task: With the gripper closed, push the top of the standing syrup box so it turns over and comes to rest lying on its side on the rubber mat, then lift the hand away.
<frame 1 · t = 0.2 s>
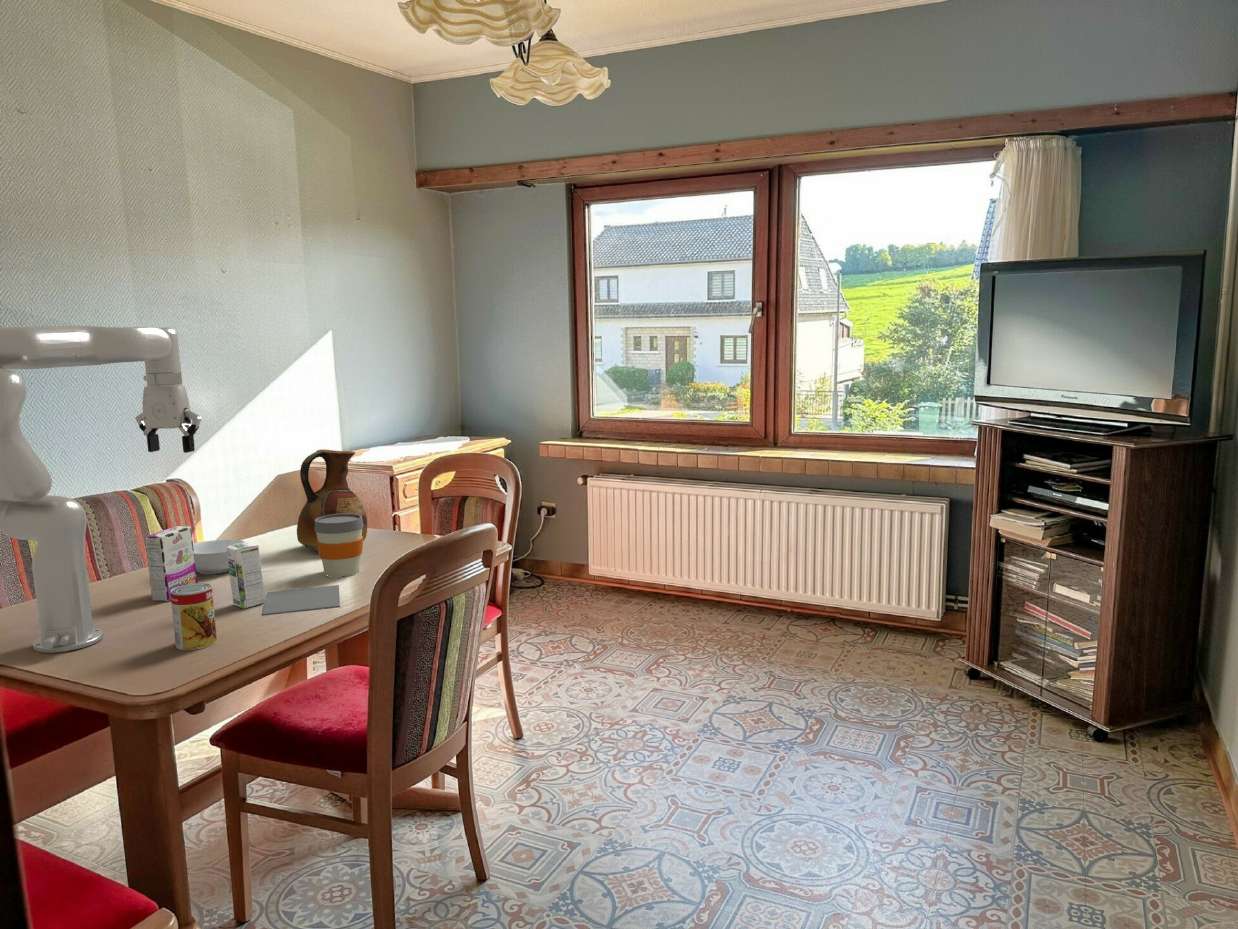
hand: (171, 451, 212), 36 cm above the table, tool pointing down, fingers open, 9 cm apart
mat: (302, 599, 214), on the table
reusable coffee cup: (342, 573, 238), on the table
candy bar box: (175, 595, 220), on the table
cereal bowl: (215, 571, 242), on the table
ceramic pitcher: (333, 548, 265), on the table
canned food: (196, 644, 186), on the table
syrup box: (249, 604, 212), on the table, touching mat
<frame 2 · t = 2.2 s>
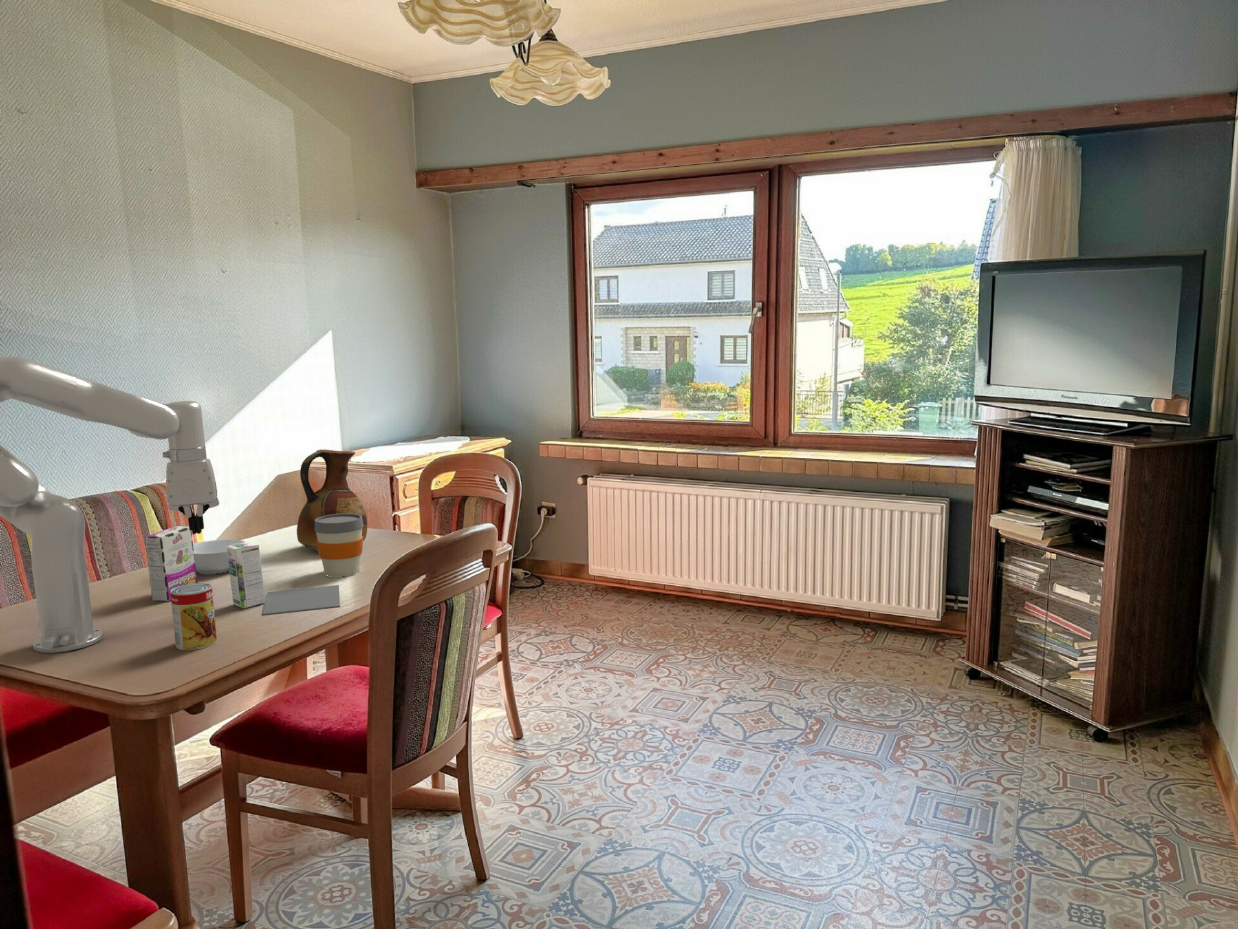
hand: (197, 532, 206), 18 cm above the table, tool pointing down, fingers closed
nothing on the table moved.
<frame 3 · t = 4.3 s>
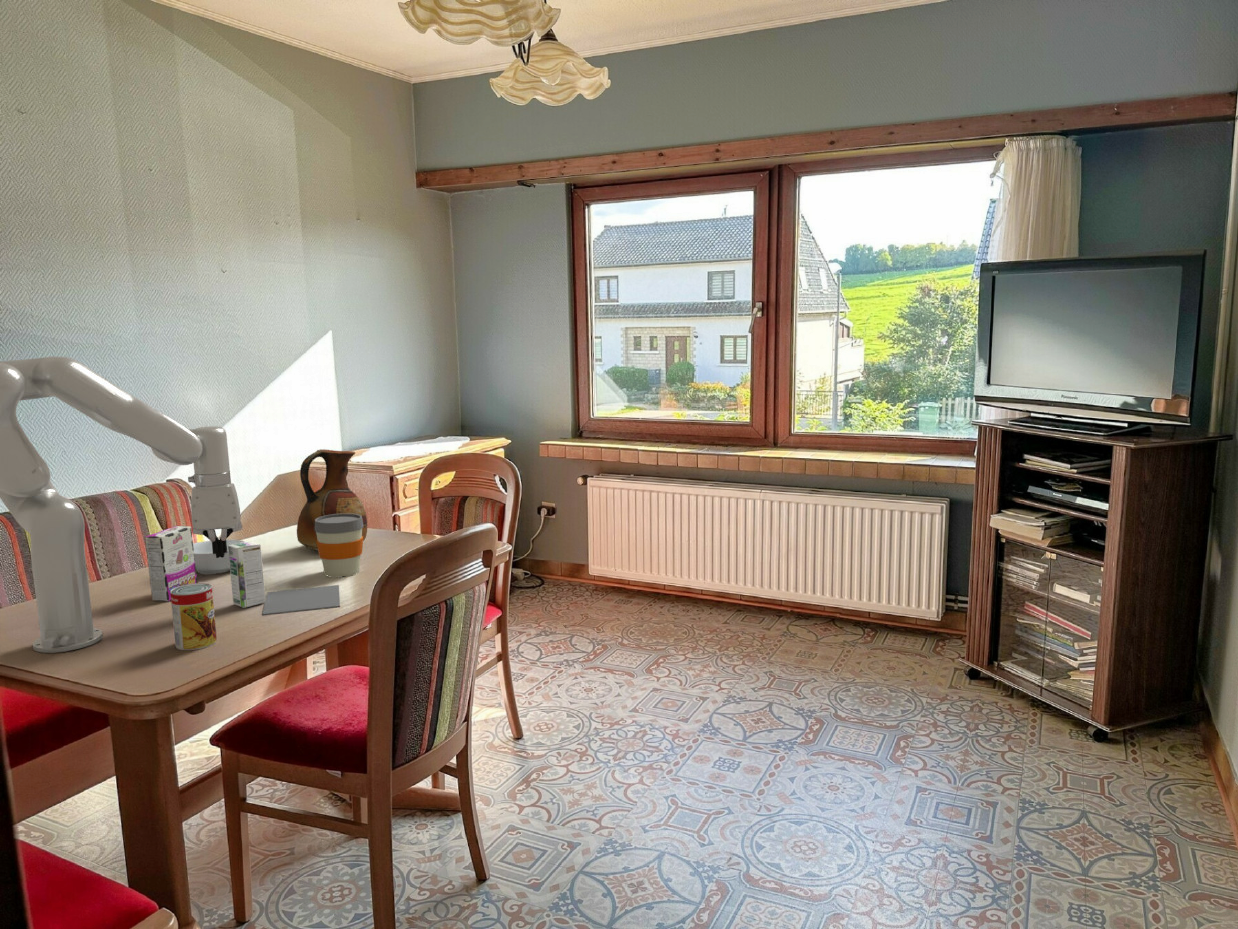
hand: (220, 556, 208), 12 cm above the table, tool pointing down, fingers closed
syrup box: (249, 604, 212), on the table, touching gripper, mat
everything else where it was.
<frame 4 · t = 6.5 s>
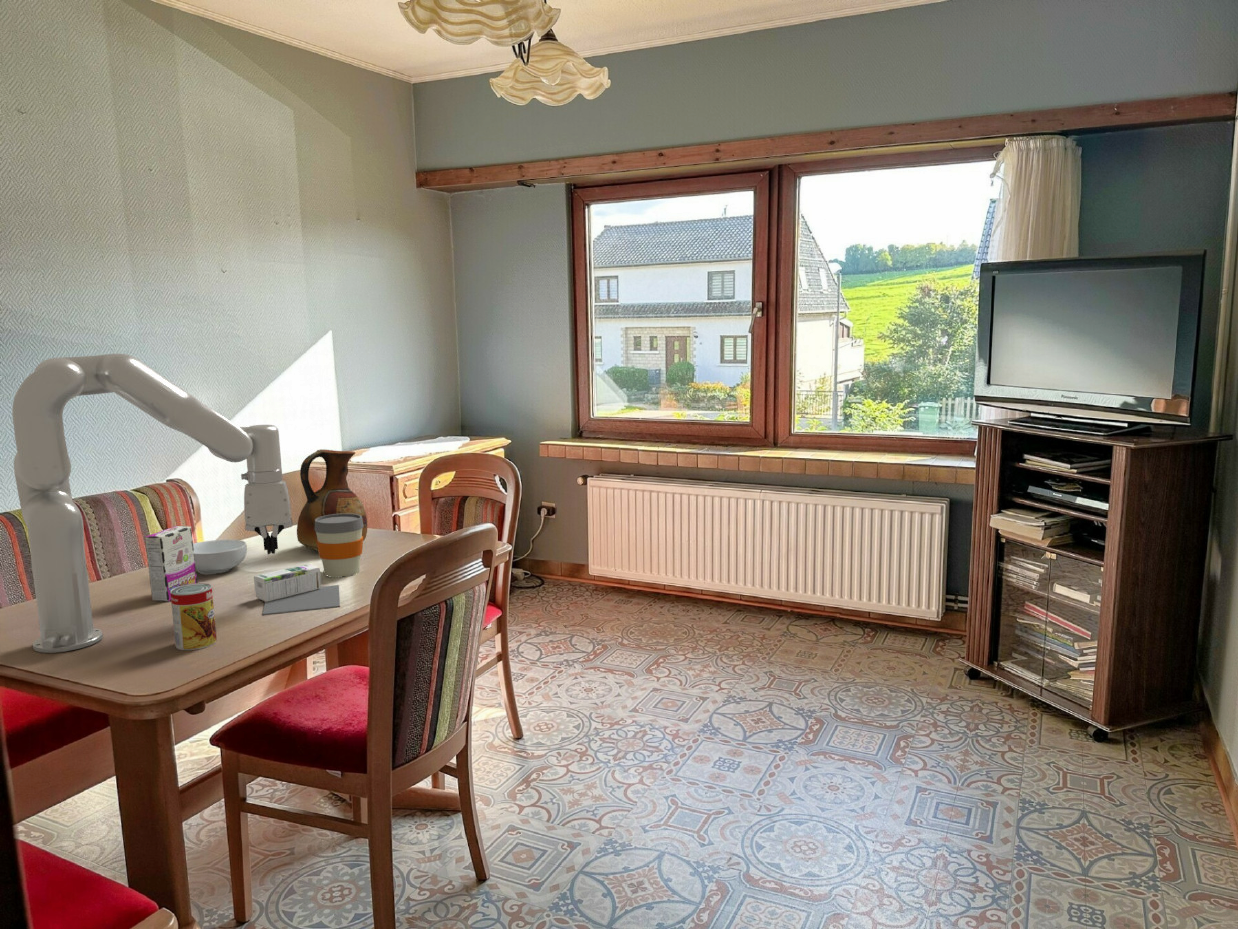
hand: (271, 552, 212), 12 cm above the table, tool pointing down, fingers closed
syrup box: (258, 589, 213), point 3 cm above the table, touching mat
everything else where it was.
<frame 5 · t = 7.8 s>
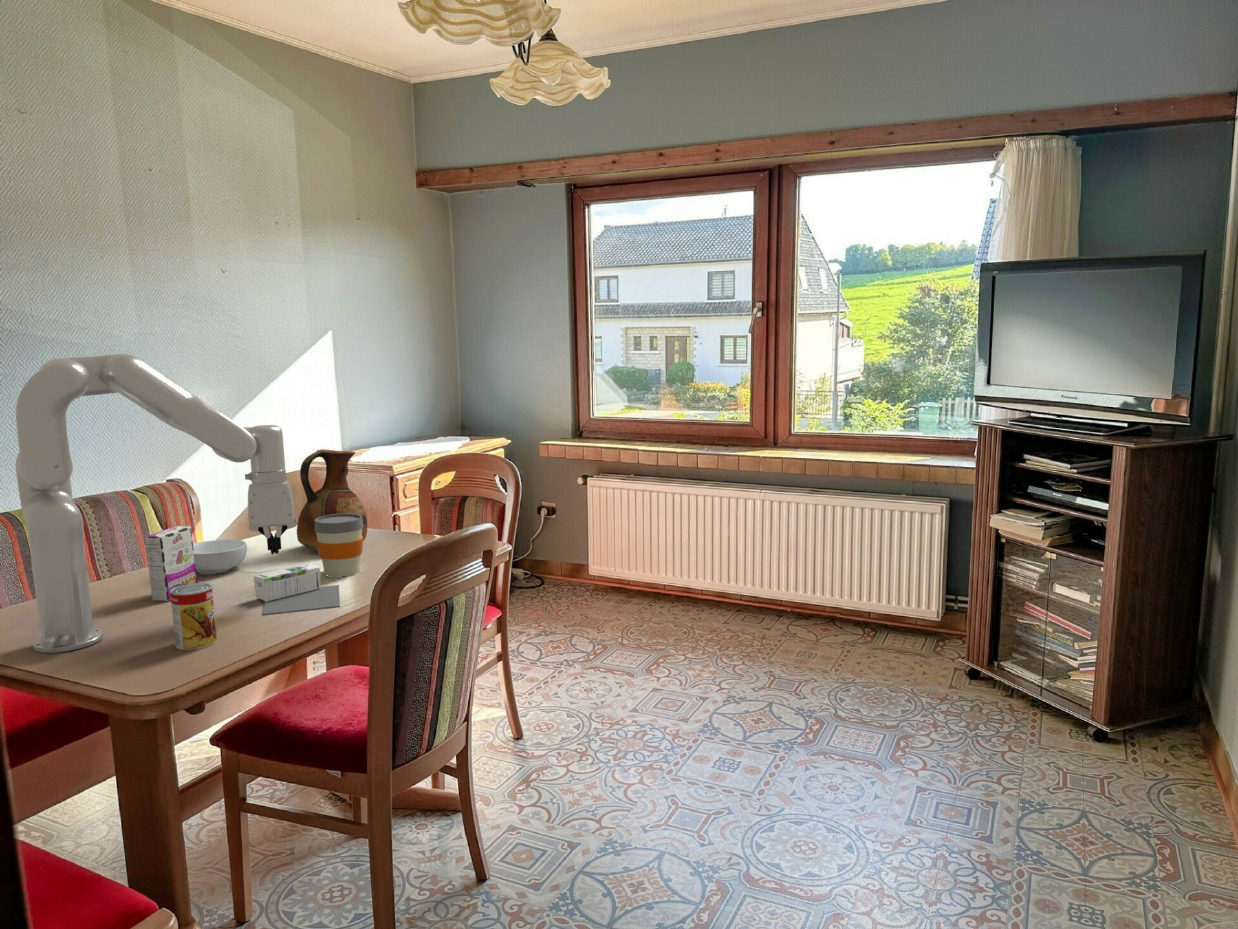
hand: (274, 552, 212), 12 cm above the table, tool pointing down, fingers closed
nothing on the table moved.
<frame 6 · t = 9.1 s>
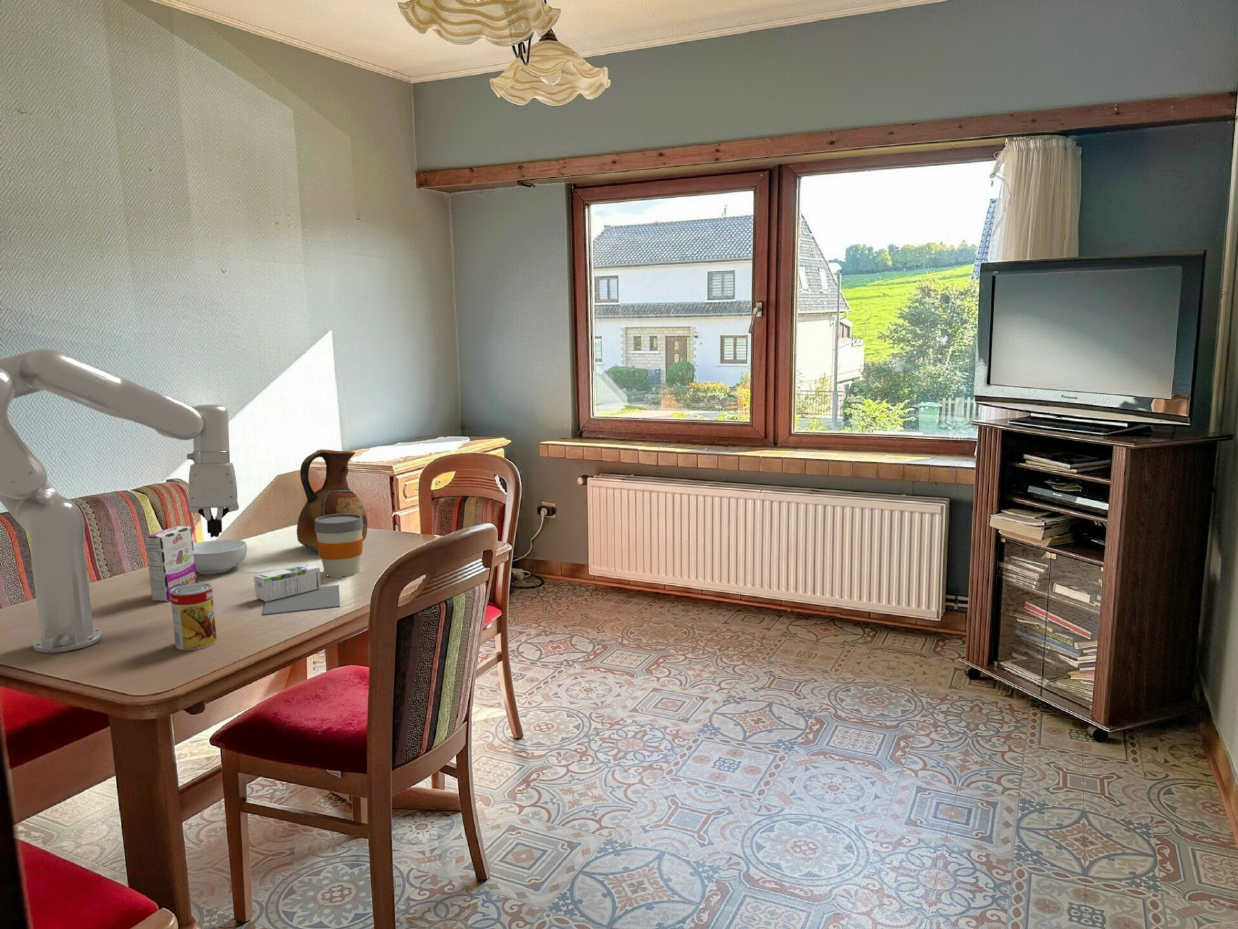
hand: (215, 535, 207), 17 cm above the table, tool pointing down, fingers closed
nothing on the table moved.
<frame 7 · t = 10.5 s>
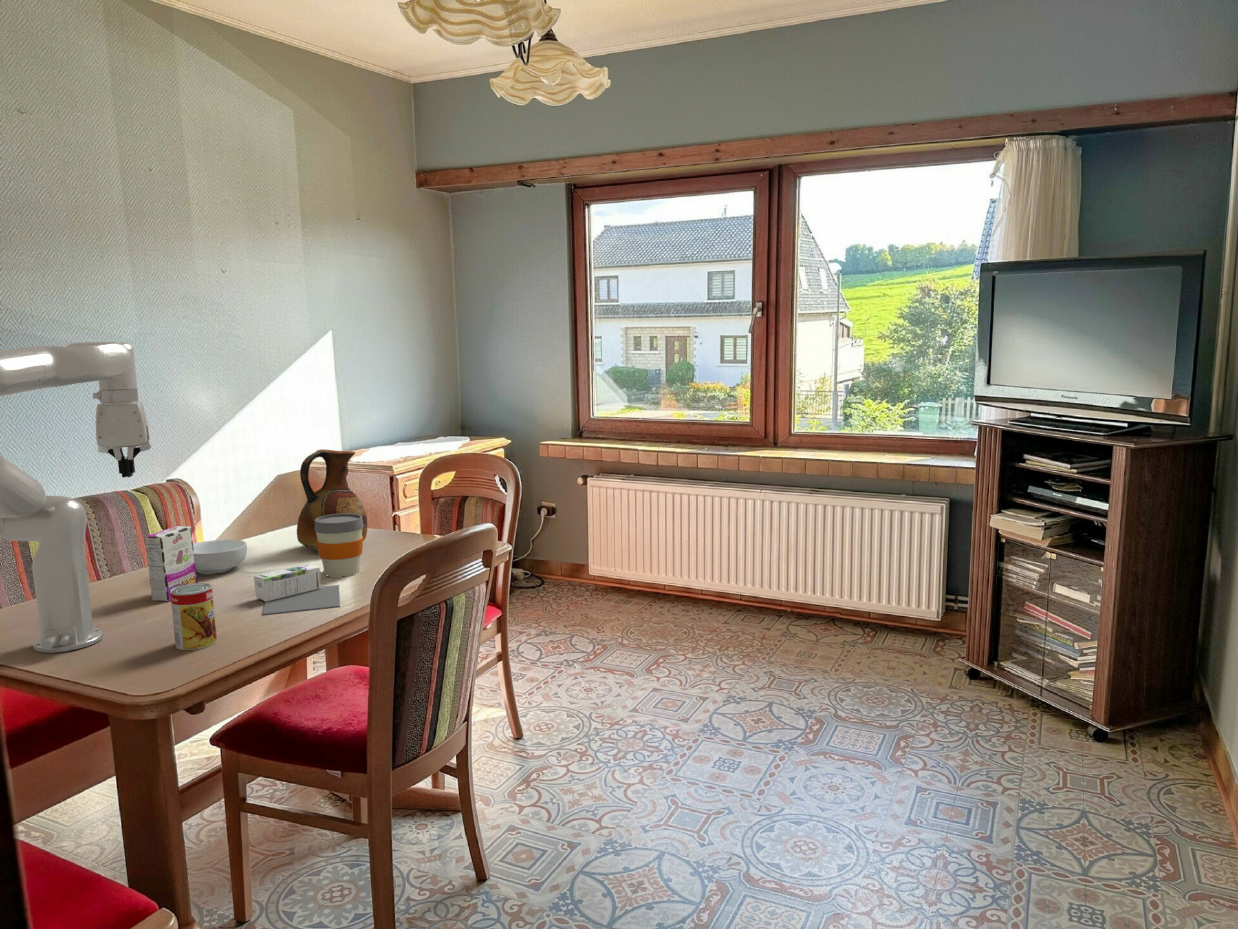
hand: (127, 476, 204), 32 cm above the table, tool pointing down, fingers closed
nothing on the table moved.
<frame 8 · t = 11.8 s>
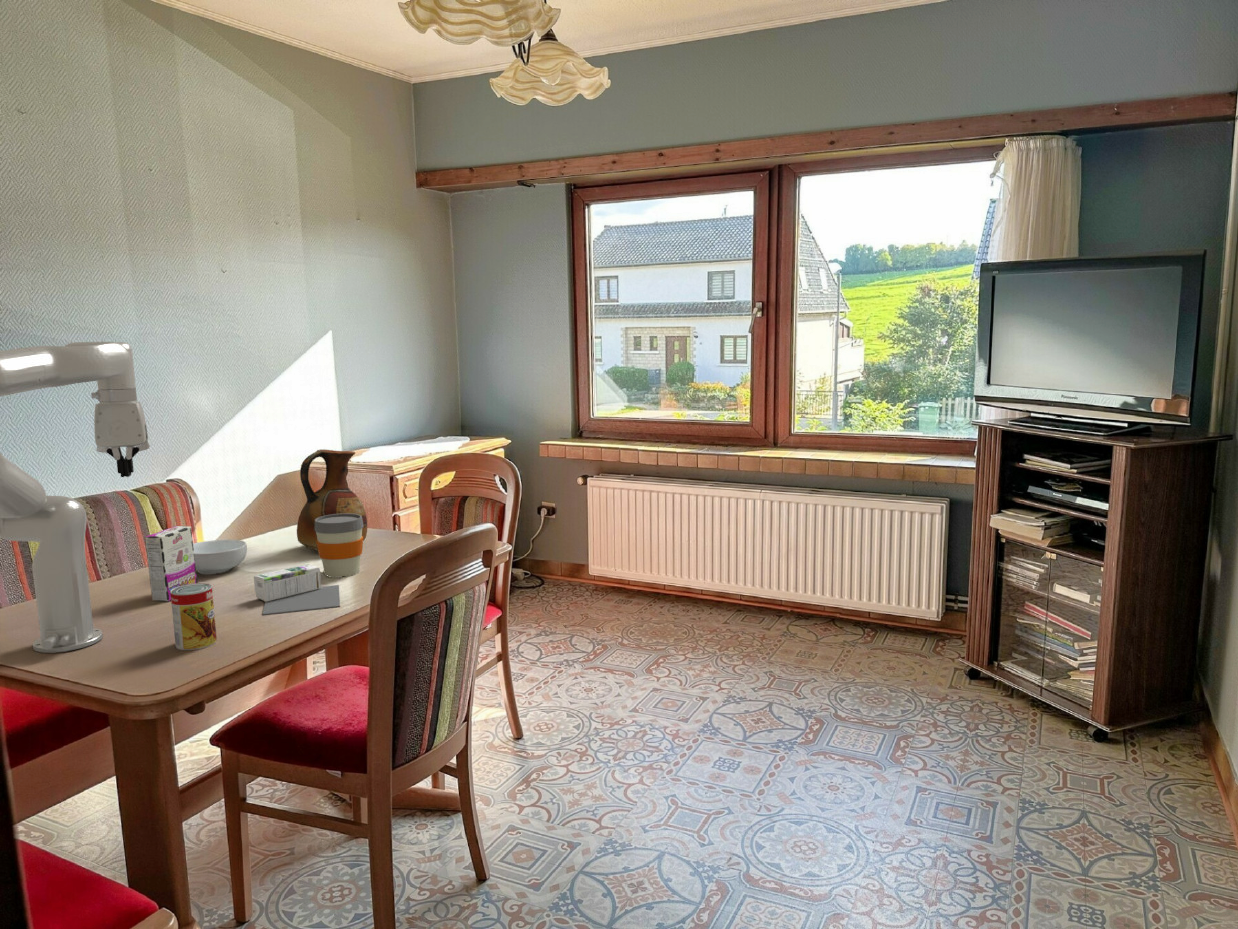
hand: (126, 475, 204), 32 cm above the table, tool pointing down, fingers closed
nothing on the table moved.
at the end: syrup box tilted 89°; syrup box inside the target area (2.6 cm from its centre), point 3.1 cm above the table; syrup box touching mat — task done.
